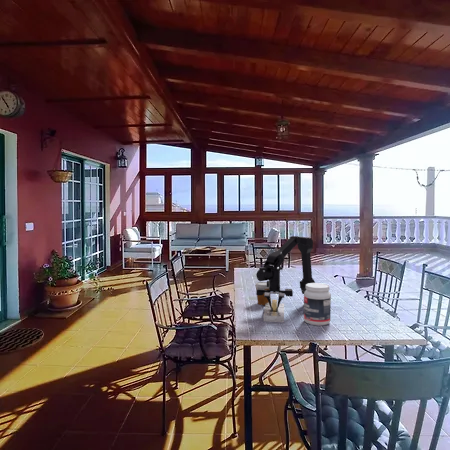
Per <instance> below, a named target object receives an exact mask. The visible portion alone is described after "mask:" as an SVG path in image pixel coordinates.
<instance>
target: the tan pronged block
mask: <svg viewBox="0 0 450 450" xmlns="http://www.w3.org/2000/svg"><path fill="white" fill-rule="evenodd" d="M271 303H272V308H273V312H276V308H277V303H278V299H271Z"/></svg>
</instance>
